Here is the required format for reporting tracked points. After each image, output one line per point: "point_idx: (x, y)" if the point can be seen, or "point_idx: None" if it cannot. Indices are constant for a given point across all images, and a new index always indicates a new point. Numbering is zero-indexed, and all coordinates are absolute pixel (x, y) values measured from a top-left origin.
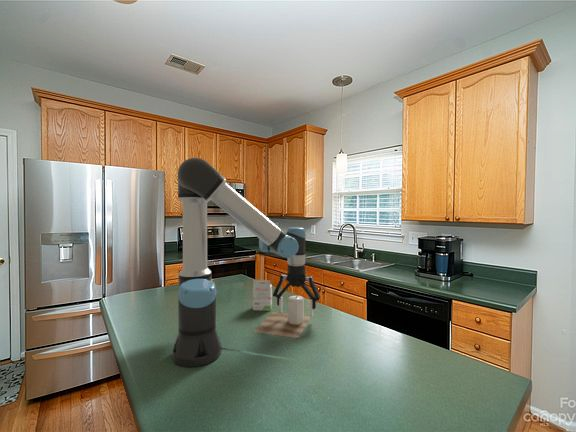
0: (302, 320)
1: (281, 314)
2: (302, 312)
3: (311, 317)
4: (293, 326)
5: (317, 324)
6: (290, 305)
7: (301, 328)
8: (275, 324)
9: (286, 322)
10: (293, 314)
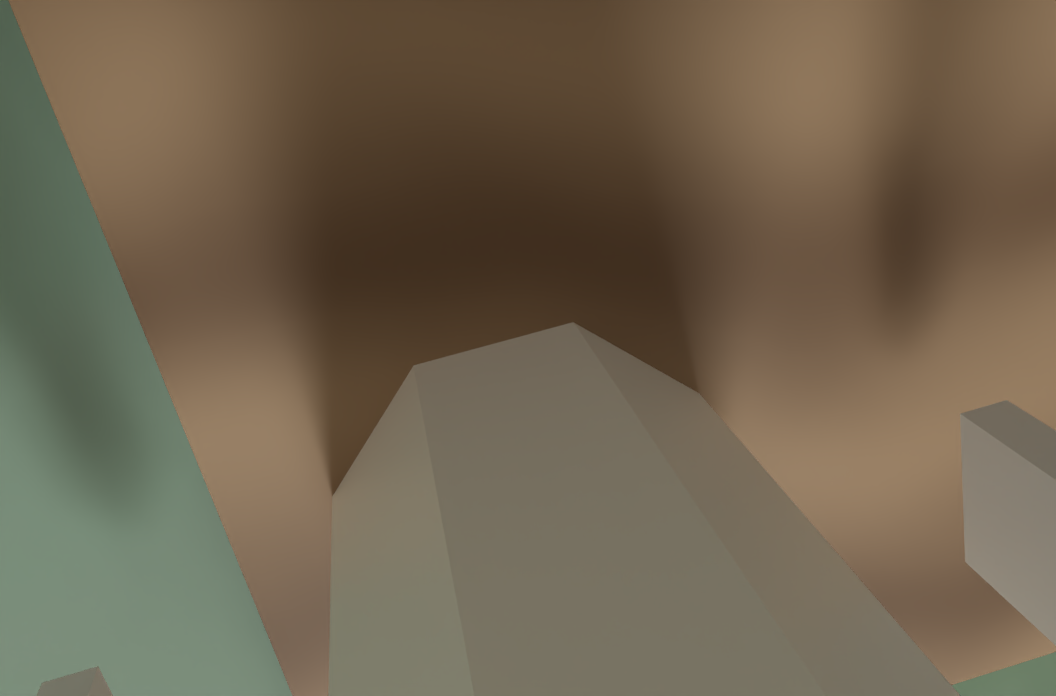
0: (332, 530)
1: (971, 618)
2: (330, 676)
3: (59, 680)
4: (427, 206)
5: (41, 673)
6: (792, 613)
7: (173, 210)
8: (894, 70)
9: (698, 323)
10: (560, 455)
